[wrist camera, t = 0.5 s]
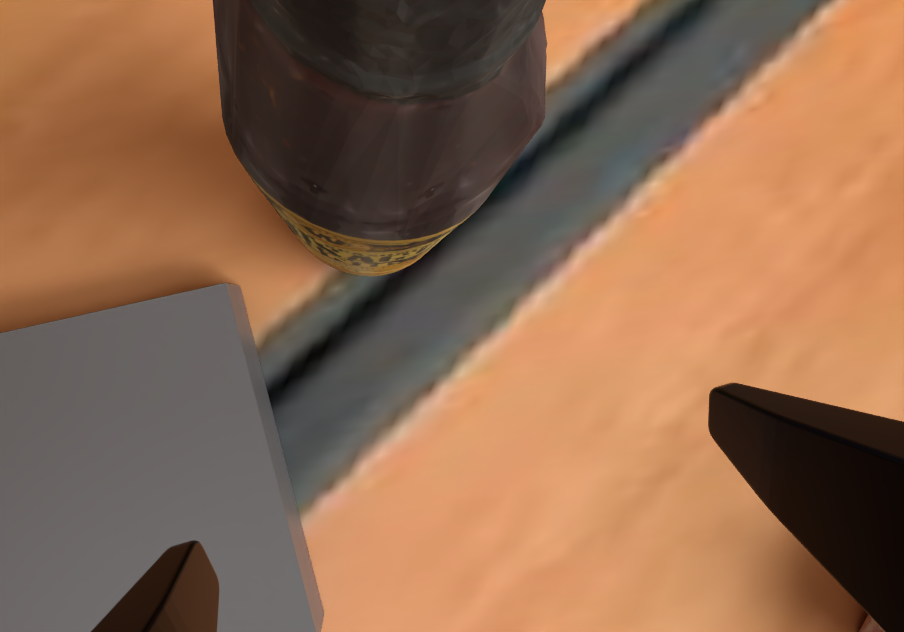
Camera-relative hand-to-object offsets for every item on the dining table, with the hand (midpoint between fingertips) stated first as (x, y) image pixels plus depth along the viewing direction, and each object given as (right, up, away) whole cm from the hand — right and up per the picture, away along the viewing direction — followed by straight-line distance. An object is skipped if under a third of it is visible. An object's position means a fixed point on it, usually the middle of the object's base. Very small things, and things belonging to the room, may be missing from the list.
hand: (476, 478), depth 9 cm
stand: (-14, -4, +11) cm, 19 cm away
